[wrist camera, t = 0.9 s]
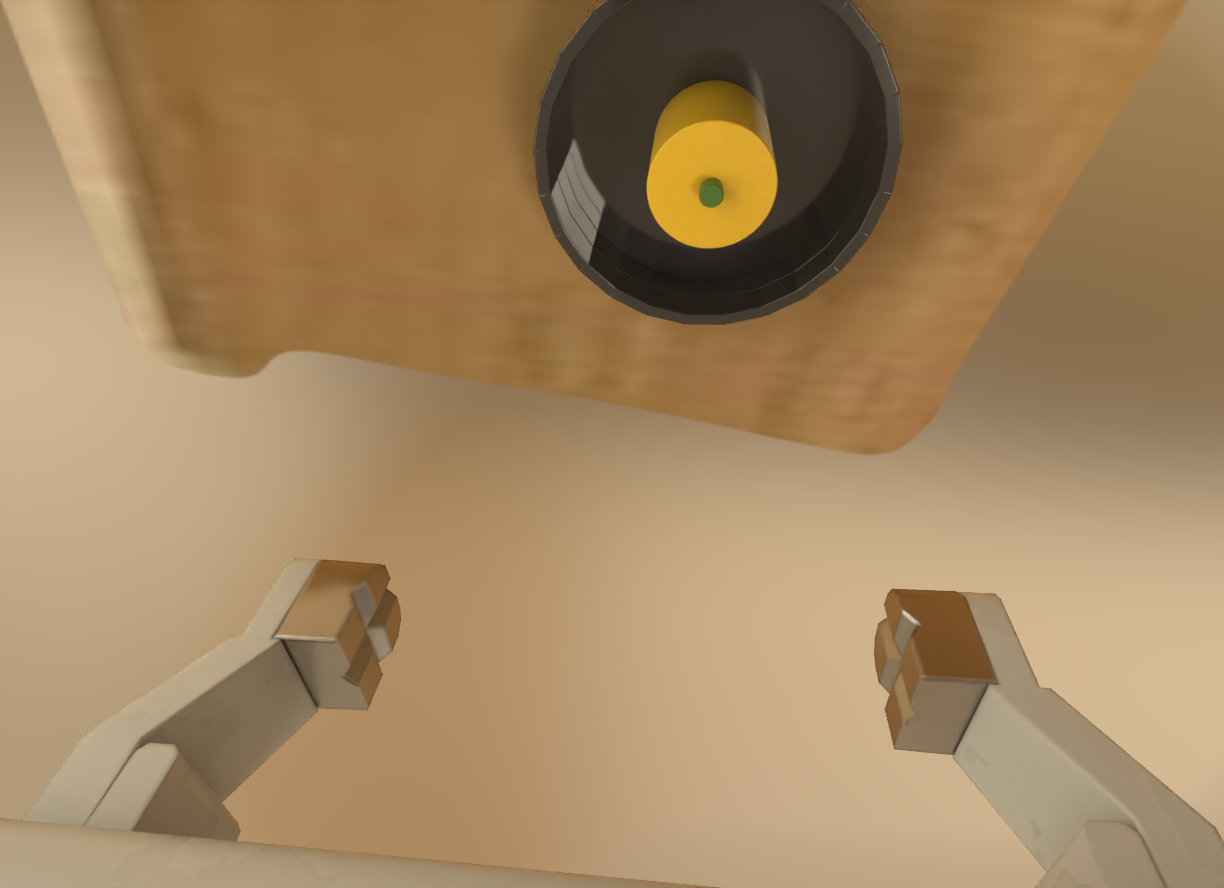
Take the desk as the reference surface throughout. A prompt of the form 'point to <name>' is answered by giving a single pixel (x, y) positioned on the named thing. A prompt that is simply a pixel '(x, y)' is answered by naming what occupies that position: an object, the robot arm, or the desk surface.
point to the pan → (800, 133)
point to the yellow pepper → (712, 166)
